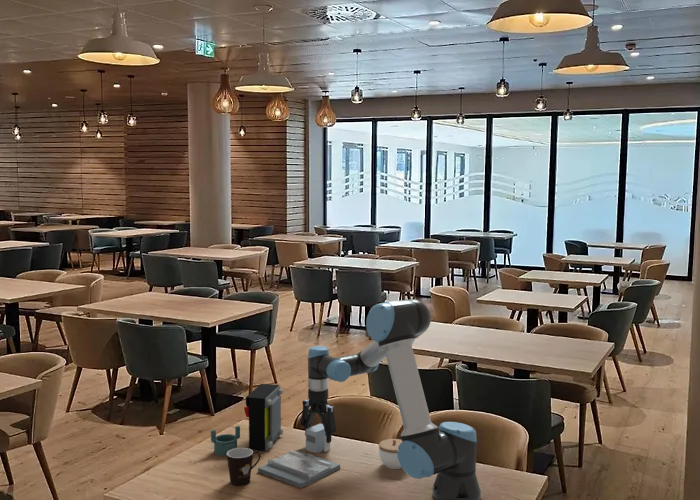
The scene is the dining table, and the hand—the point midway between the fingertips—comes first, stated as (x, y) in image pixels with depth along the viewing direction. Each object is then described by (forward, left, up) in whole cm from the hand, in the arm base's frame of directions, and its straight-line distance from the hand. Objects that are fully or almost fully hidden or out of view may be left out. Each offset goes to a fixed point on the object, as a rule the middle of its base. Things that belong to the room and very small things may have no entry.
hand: (318, 447), depth 259 cm
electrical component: (+20, +8, -1) cm, 21 cm away
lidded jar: (-31, -5, -1) cm, 31 cm away
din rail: (-8, +19, +1) cm, 21 cm away
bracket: (+24, +24, -1) cm, 34 cm away
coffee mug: (0, +37, 0) cm, 37 cm away
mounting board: (-8, +19, 0) cm, 21 cm away
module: (0, 0, 0) cm, 0 cm away
